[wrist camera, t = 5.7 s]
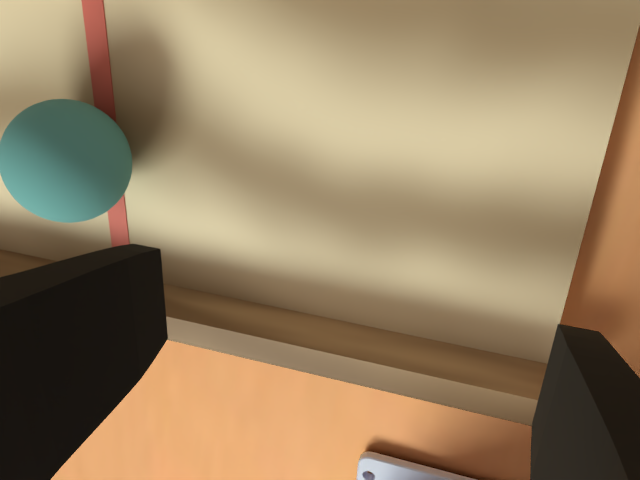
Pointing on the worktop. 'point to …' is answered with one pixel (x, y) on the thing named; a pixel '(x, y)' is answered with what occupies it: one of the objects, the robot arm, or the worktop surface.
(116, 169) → the ball
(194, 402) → the worktop surface
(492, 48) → the lane
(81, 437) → the robot arm
